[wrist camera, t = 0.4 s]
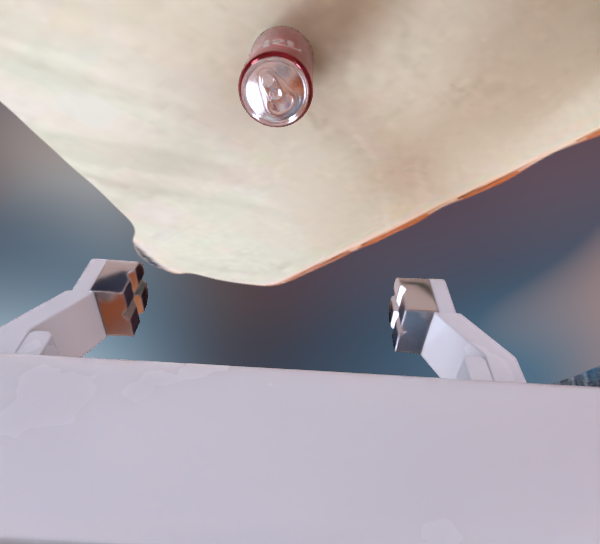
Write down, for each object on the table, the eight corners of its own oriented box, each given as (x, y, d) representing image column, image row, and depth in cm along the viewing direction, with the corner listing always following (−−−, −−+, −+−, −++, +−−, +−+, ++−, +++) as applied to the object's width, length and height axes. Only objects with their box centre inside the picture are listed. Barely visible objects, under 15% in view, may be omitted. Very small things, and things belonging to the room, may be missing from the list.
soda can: (323, 75, 56) (324, 112, 46) (268, 100, 58) (259, 140, 48) (297, 12, 52) (293, 38, 42) (239, 41, 54) (223, 73, 44)
